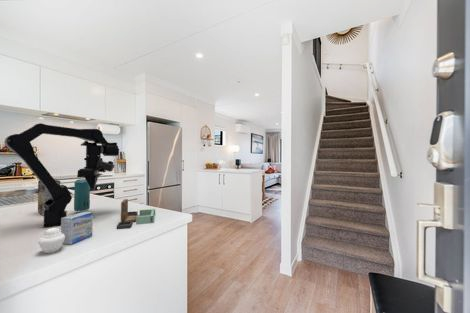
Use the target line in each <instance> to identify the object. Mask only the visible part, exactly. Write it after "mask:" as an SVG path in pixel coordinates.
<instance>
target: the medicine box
mask: <svg viewBox="0 0 470 313" xmlns="http://www.w3.org/2000/svg"><path fill="white" fill-rule="evenodd" d="M93 215H94V213H93V211H92V212H91V211H80V212H78V213H73V214H70V215H68V216H67V215H66V217H63V218H61V225H60V232H61V233H62V234H64V235H65V239H64V242H63V243H62V245H70V246H71V245H75V244H77V243H79V242H81V241H84V240H86V239H88V238H90V237H92V236H93V222H94V221H93V218H94V217H93Z"/></svg>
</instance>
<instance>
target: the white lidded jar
mask: <svg viewBox="0 0 470 313" xmlns="http://www.w3.org/2000/svg"><path fill="white" fill-rule="evenodd" d="M64 239H65V235H64V234H62V233H61V229H59V227H50V228H48V229H46V230H45V231H44V234H42V236H41V237H40V238H39V239H38V240H37V241H38V242H37V244H38V245H39V247H40V248H41V250H42V251H43V253H45V254H53V253H56V252H58V251H59V250H60V248H61V247H62V245H63V244H62V243H63V242H64Z"/></svg>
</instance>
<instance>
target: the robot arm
mask: <svg viewBox="0 0 470 313" xmlns="http://www.w3.org/2000/svg"><path fill="white" fill-rule="evenodd" d="M42 135H49V136H50V135H51V136H59V137H68V138H70V137H71V138H76V139H80V140H83V142H81V143H80V146H83V147H85V157H84V159H83V160H84V161H85V166H84V167H83V168H80V169H78V170H77V174H78V175H83V176H84V177H83V178H84V179H86V181H87V182H88V184H89V186H90V190H94V189H96V186H97V183H98V179H99V177H100V176H102V175H103V173H106V172H113V170H114V169H115V166H116V165H115V164H114V161H111V160H108V161H105V160H104V161H103V157H102V155H103V156H104V157H117V156H119V154H120V149H119V146H118V142H109V141H108V140H107V139H106V138H105V137H104V135H103V132H102V131H101V129H99V128H75V127H66V126H60V125H59V126H58V125H50V124H45V123H42V122H40V123H37V124H34V125H32V126H31V127H30V128H28V129H26V130H24V131H22V132H20V133H15V134H11V135H9V136H8V135H7V137H6V138H5V139H4V145H5V147H6V148H7V149H9V150H10V151H11V152H12V153H14V154H15V155H16V156H18V158H20V159H21V160H22V161H23V162H24V163H25V164H26V166H27V167H28V168H29V170H30V171H31V172H32V173H33V174H34V176H35V177H36V178H37V179H38V181H40V182H41V183H42V184H43V186H44V187H45V188H46V191H47V194H48V196H49V198H50V199H49V200H47V201H46V202H45V203H44V204H43V206H44V208H45V210H44V216H43V225H42V228H48V227H50V228H51V227H55V226H61V218H63V217H67V210H66V208H67V206H68V205H69V204H70V203H71V202H72V198H73V196H72V194H73V193H72V192H71V191H70V190H69V188H68V186H67V185H64V184H60V185H58V184H57V183H56V181H55V180H56V179H55V180H54V177H53V176H52V175H51V174H50V172H49V171H48V170H47V168H46V167H45V166H44V165H43V163H42V162H41V160H40V159H39V158H38V157H37V155H36V153H35V150H34V148H33V146H32V143H31V142H32V141H33V140H35V139H37V138H38V137H40V136H42Z"/></svg>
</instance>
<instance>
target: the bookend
mask: <svg viewBox="0 0 470 313" xmlns="http://www.w3.org/2000/svg"><path fill="white" fill-rule="evenodd" d="M128 209H129V199H128V198H127V199H126V198H125V199H122V201H121V202H120V222H129V221H133V224H134V223H135V222H136V217H137V216H150V215H140V214H139V215H138V214H137V215H135V216H128V212H129V210H128Z"/></svg>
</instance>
